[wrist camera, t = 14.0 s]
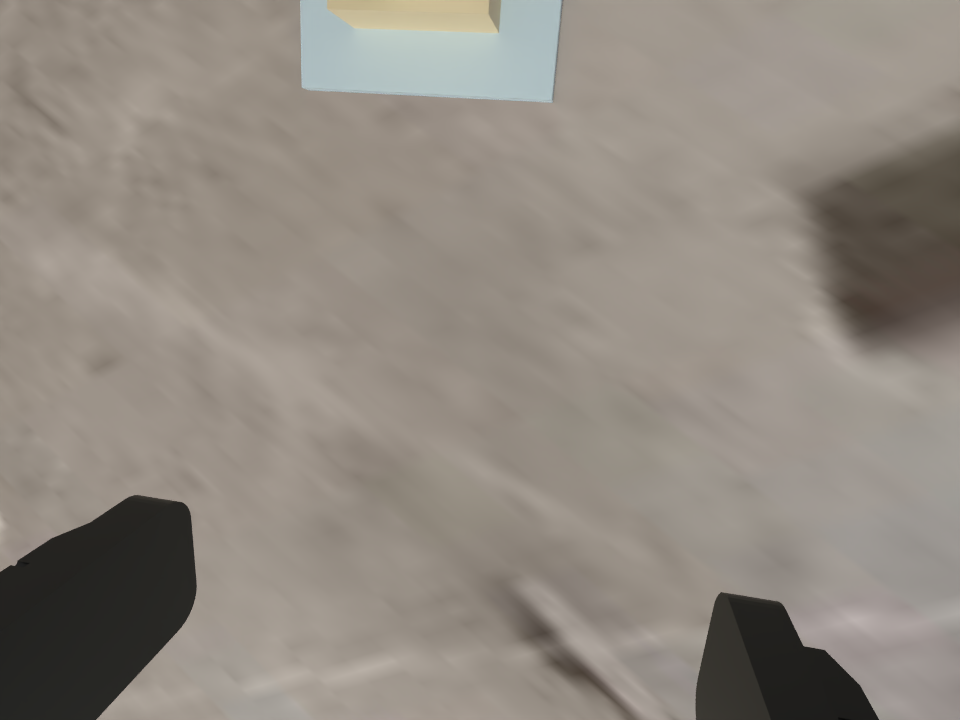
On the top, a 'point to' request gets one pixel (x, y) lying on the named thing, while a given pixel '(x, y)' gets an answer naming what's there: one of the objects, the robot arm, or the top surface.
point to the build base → (432, 47)
